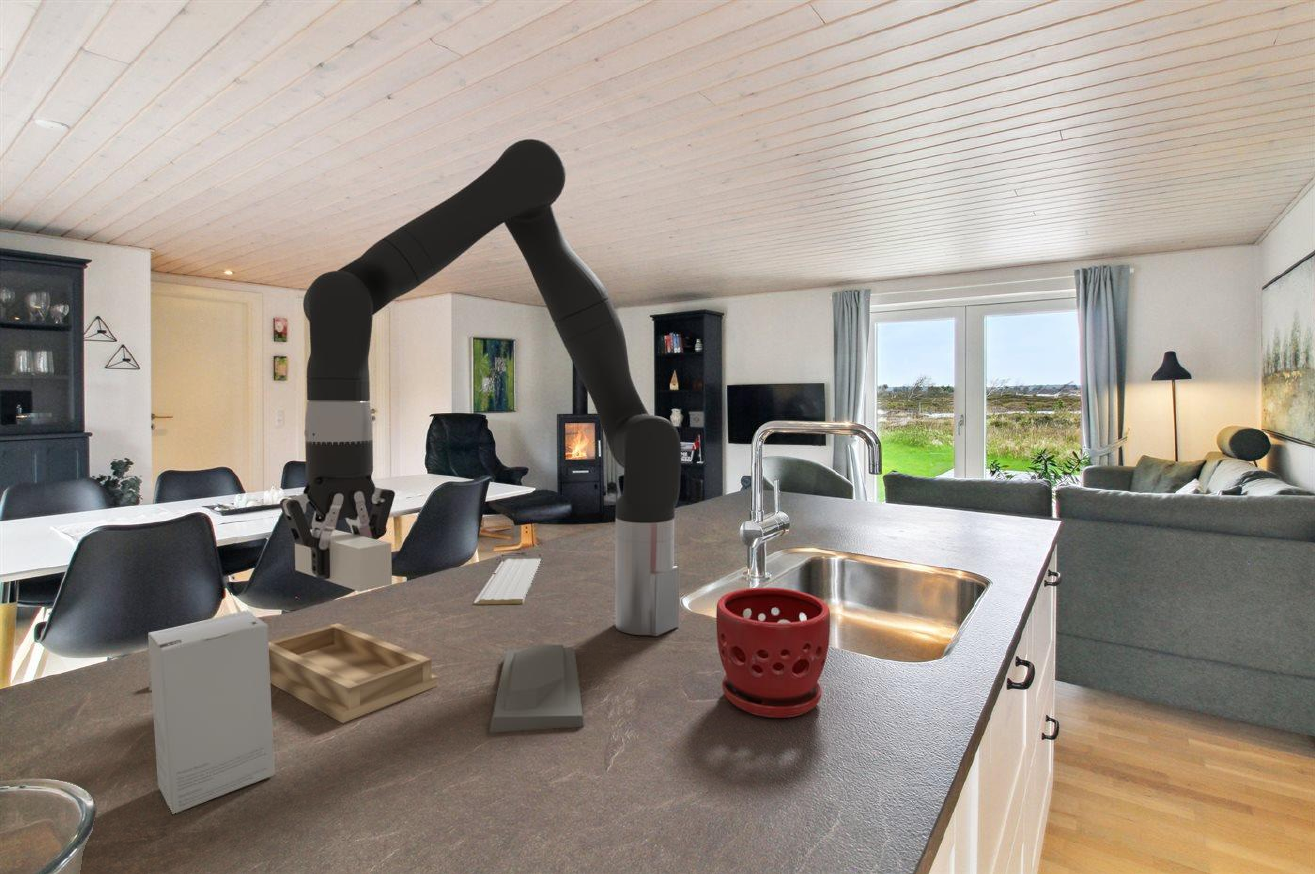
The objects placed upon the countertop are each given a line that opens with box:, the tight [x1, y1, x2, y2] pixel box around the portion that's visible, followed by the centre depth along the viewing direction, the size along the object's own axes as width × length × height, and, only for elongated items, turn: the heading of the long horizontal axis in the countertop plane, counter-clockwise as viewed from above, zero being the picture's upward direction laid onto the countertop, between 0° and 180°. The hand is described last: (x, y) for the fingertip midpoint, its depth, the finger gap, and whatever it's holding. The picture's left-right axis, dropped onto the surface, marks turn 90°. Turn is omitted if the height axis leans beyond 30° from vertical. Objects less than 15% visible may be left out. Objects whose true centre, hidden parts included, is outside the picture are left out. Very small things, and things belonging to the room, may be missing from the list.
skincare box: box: [147, 609, 275, 815], centre depth 60 cm, size 8×6×15 cm
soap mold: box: [489, 643, 585, 733], centre depth 81 cm, size 10×20×4 cm, turn 9°
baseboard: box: [473, 552, 542, 605], centre depth 130 cm, size 30×3×10 cm
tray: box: [268, 622, 438, 724], centre depth 83 cm, size 22×12×4 cm, turn 54°
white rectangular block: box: [294, 528, 393, 592], centre depth 82 cm, size 16×4×5 cm, turn 53°
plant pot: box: [715, 587, 831, 719], centre depth 78 cm, size 13×13×12 cm
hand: (341, 573), depth 83 cm, fingers closed on white rectangular block, 4 cm apart
